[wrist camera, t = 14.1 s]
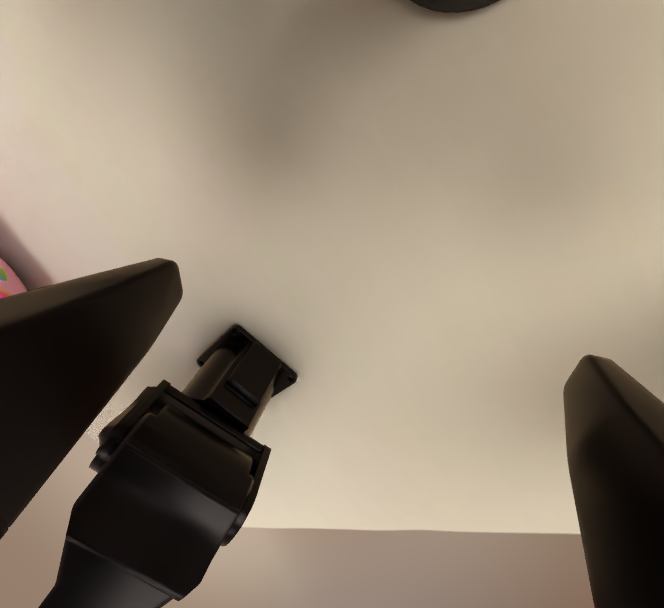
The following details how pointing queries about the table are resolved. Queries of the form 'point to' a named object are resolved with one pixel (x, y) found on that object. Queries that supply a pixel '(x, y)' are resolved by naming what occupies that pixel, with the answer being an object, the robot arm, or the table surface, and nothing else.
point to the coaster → (453, 4)
